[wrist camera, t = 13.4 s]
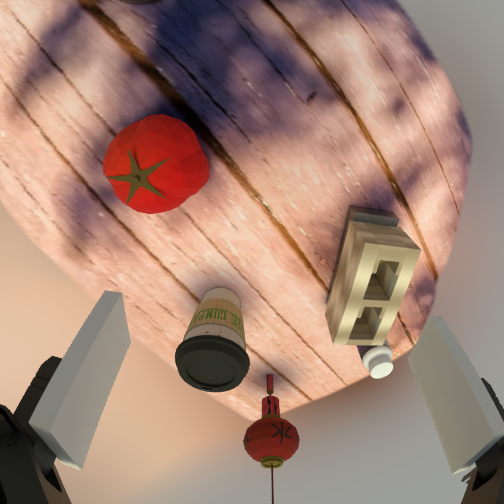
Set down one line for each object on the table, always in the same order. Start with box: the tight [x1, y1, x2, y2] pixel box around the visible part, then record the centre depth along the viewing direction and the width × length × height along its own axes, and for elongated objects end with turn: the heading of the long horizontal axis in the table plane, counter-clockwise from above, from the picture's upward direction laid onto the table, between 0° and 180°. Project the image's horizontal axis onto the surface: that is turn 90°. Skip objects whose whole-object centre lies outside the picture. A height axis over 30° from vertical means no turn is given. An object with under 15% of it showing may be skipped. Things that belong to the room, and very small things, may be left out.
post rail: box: [327, 206, 399, 303], centre depth 44 cm, size 16×7×6 cm, turn 174°
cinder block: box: [325, 220, 421, 345], centre depth 42 cm, size 16×8×7 cm, turn 174°
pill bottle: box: [357, 339, 393, 378], centre depth 49 cm, size 5×5×10 cm
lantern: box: [243, 374, 299, 504], centre depth 46 cm, size 10×10×30 cm
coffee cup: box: [175, 287, 250, 392], centre depth 44 cm, size 10×10×15 cm
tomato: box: [103, 114, 209, 214], centre depth 34 cm, size 12×12×13 cm
